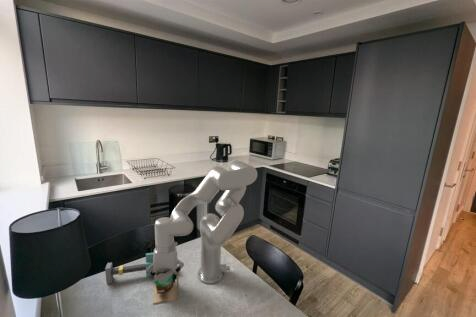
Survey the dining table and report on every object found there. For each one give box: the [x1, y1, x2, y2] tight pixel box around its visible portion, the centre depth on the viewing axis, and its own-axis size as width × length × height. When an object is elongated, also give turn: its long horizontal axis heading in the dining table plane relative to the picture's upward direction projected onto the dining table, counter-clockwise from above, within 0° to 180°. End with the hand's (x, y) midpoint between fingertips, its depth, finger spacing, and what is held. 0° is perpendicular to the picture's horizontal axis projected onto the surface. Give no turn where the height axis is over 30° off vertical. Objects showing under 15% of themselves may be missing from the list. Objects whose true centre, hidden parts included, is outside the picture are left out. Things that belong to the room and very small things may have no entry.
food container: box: [153, 270, 174, 294], centre depth 101 cm, size 12×6×10 cm, turn 171°
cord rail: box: [104, 262, 146, 285], centre depth 109 cm, size 29×4×8 cm, turn 107°
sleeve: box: [145, 252, 154, 277], centre depth 110 cm, size 4×6×10 cm
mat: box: [152, 278, 179, 305], centre depth 102 cm, size 10×13×1 cm
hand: (166, 281), depth 102 cm, fingers closed on food container, 6 cm apart
